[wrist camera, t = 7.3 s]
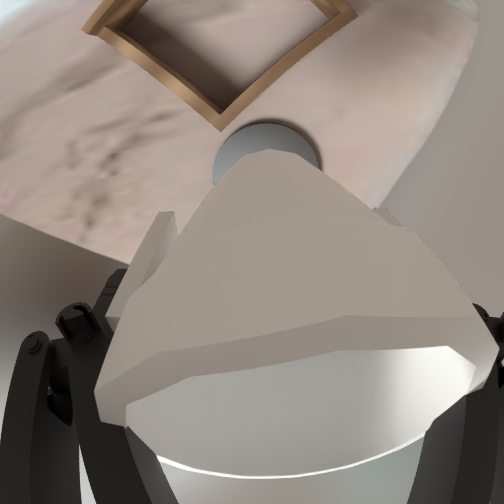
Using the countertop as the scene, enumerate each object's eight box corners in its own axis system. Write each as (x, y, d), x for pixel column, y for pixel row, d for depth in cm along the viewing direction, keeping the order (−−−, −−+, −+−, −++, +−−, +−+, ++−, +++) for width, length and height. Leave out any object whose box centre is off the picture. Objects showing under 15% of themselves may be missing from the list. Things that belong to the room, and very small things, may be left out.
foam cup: (281, 85, 12) (460, 132, 2) (377, 208, 16) (495, 395, 6) (157, 201, 16) (52, 415, 5) (262, 290, 20) (272, 484, 9)
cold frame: (107, 34, 21) (80, 29, 16) (223, -71, 14) (218, -95, 9) (224, 125, 28) (218, 136, 24) (345, 22, 21) (366, 12, 16)
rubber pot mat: (192, 175, 32) (191, 178, 31) (267, 101, 27) (267, 101, 26) (264, 237, 37) (265, 240, 36) (337, 175, 32) (339, 178, 31)
